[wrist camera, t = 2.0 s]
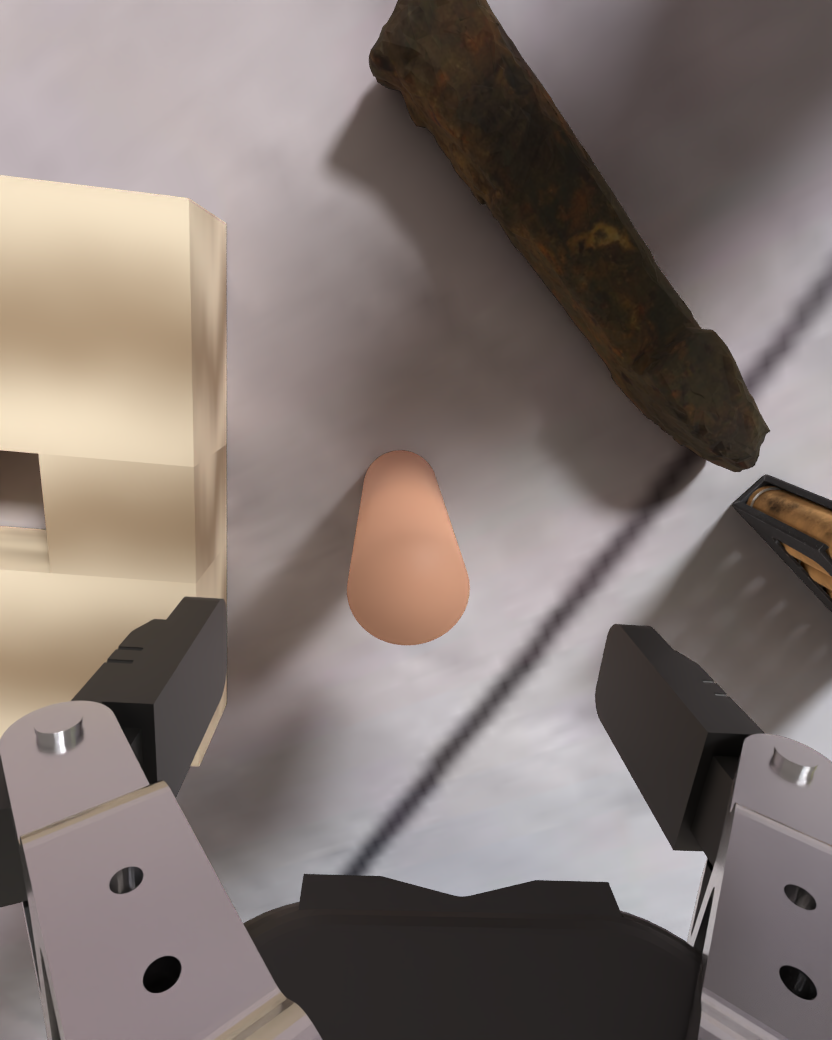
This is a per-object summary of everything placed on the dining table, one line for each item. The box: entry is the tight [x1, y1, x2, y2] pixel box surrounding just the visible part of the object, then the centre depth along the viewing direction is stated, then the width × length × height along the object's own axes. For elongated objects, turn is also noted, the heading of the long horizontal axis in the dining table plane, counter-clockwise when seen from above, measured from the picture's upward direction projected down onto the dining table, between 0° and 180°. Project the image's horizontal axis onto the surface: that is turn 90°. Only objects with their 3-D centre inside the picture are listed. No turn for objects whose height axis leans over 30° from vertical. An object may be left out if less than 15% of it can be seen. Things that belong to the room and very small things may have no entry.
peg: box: [347, 450, 470, 645], centre depth 19 cm, size 3×3×10 cm
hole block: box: [0, 175, 227, 766], centre depth 21 cm, size 20×14×4 cm
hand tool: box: [369, 0, 770, 472], centre depth 19 cm, size 19×4×5 cm, turn 39°
